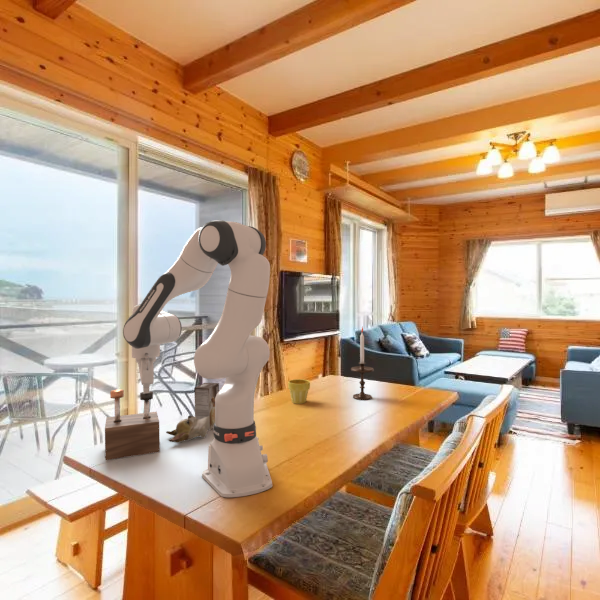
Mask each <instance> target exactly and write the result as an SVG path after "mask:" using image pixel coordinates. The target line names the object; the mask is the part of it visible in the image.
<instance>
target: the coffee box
mask: <svg viewBox="0 0 600 600" xmlns="http://www.w3.org/2000/svg"><path fill="white" fill-rule="evenodd" d="M219 385H220V383H219V382H203V383H202V384H199V385H197V386H196V387H194V388H193V389H194V391H193V392H194V417H196V418H197V419H199V420H200V419H203V418H205V417H208V416H209V417H210V421H209V429H208V431H211V430H213V428H214V423H215V398H216V395H217V393H218V392H219V391H220V386H219Z"/></svg>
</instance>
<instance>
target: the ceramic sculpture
mask: <svg viewBox="0 0 600 600" xmlns="http://www.w3.org/2000/svg"><path fill="white" fill-rule="evenodd" d="M209 421H210V417H209V416H208V417H205V418H203V419H200V420H199V419H197V418H196V417H195V415H188V416H187V418H184V419H181V420H179V421H178V422H177V424H176V426H175V427H176V428H175V429H173V430H171V431H165V433H166V434H168V435H169V436H172V437H171V438H170V439H168V442H170V443H177V444H178V443H182V442H185V441H190V440H193V439H194V438H197V437H200V438H201V439H205V438H206V436H207V434H208V431H209V430H208V429H209Z"/></svg>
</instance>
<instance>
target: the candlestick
mask: <svg viewBox="0 0 600 600" xmlns="http://www.w3.org/2000/svg"><path fill="white" fill-rule="evenodd" d="M363 332H364V328H363V326H362V327H361V334H360V336H359V337H360V338H359V342H360V343H359V347H360V348H359V353H360V354H359V357H360V358H359V359H360V360H359V362H358V364H359V366H357V365H356V366H352V367H350V371H351V372H354V373H359V374H360V381H359V385H360V386H359V388H360V393H356V394H353V395H352V399H354V400H358V401H369V400H371V399H372V398H373V397H372V395H371V394H369V393H365V390H364V389H365V388H366V387H365V384H366V381H365V379H364V377H365V376H364V375H365V374H366V373H368V374H369V373H372V372H373V373H374V371H375V370H374V367H371V366H365V364H367V362H365V335H364V333H363Z"/></svg>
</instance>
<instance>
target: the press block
mask: <svg viewBox="0 0 600 600" xmlns="http://www.w3.org/2000/svg"><path fill="white" fill-rule="evenodd" d="M160 443H161V442H160V419H159V415H158V412H157V411H149V419H144V412H142V413H133V414H126V415H125V414H124V415H120V422H116V423H115V415H114V416H109V417H108V416H107V417H106V419H105V424H104V458H105V459H104V461H109V460H117V459H123V458H128V457H134V456H135V457H136V456H141V455H142V456H143V455H150V454H154V453H155V454H156V453H160V452H161V450H160V448H161V447H160V445H161V444H160Z"/></svg>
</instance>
